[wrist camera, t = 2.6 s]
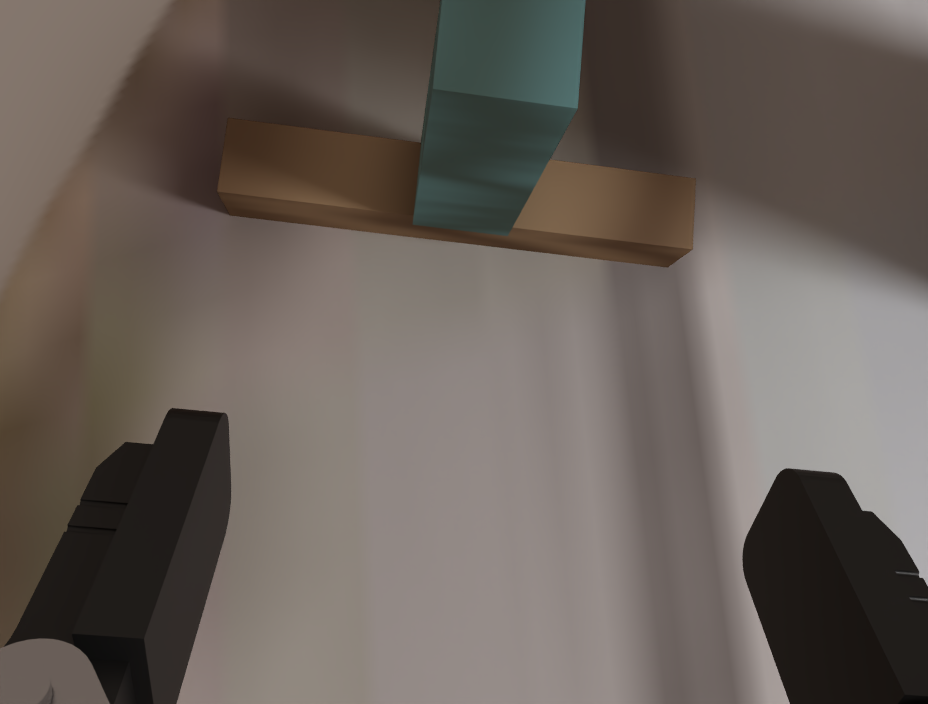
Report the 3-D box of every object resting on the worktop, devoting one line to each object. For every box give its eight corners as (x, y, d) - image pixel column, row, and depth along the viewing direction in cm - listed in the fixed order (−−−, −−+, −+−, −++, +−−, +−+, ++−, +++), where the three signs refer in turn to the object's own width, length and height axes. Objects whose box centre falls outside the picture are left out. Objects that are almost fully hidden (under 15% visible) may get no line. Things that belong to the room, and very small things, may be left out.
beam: (670, 194, 29) (855, 16, 18) (666, 276, 29) (853, 145, 17) (241, 140, 28) (150, -91, 16) (229, 225, 27) (128, 47, 16)
